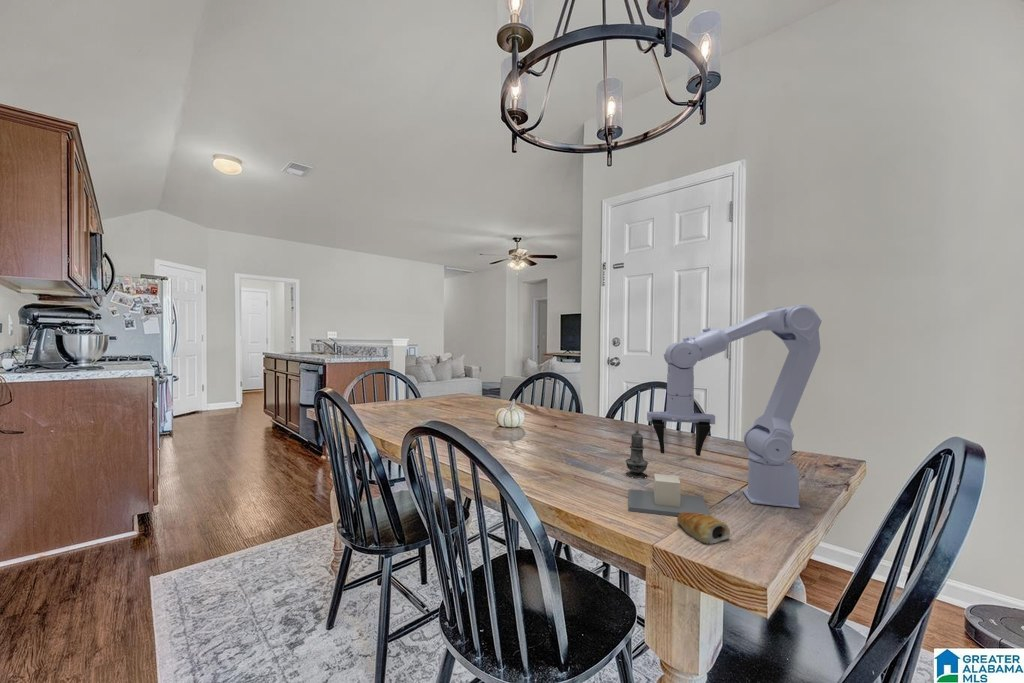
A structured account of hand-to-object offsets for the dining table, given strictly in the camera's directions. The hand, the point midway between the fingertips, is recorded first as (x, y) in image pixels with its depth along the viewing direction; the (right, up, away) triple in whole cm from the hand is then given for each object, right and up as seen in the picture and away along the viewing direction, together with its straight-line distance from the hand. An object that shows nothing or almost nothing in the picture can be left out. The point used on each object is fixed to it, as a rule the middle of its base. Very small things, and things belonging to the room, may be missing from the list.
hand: (679, 453), depth 98 cm
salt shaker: (-6, -10, +14) cm, 18 cm away
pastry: (-3, -10, -19) cm, 22 cm away
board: (-5, -10, -5) cm, 12 cm away
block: (-5, -9, -5) cm, 12 cm away
